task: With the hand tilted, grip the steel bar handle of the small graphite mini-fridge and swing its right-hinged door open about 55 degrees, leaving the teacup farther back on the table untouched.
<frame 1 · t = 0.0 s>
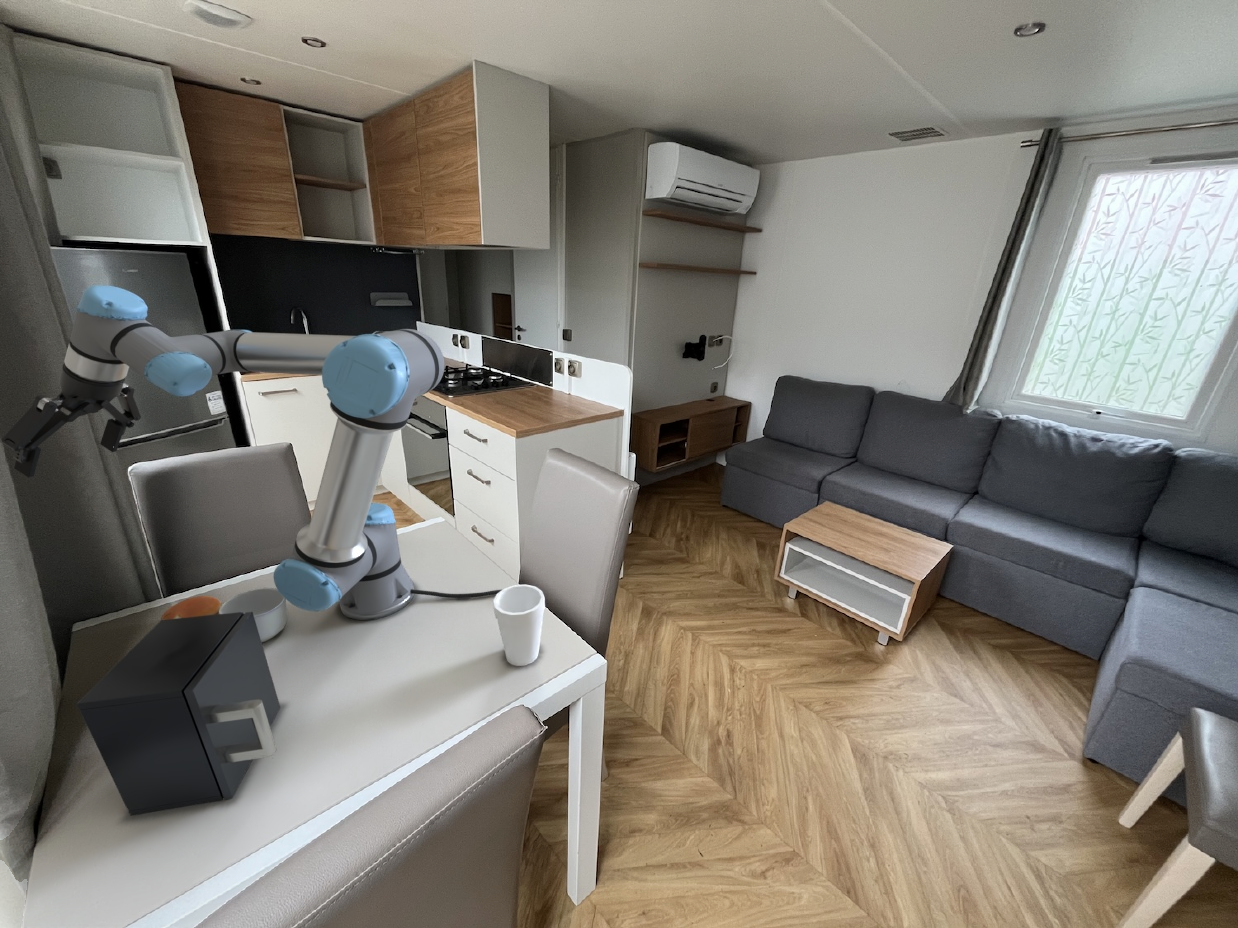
hand: (69, 459, 92), 36 cm above the table, tool tilted 35°, fingers open, 13 cm apart
fridge: (209, 756, 75), on the table
fridge door: (261, 697, 73), point 10 cm above the table, hinge at 0.0°
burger: (196, 624, 103), on the table
foam cup: (522, 654, 97), on the table
teacup: (257, 640, 99), on the table
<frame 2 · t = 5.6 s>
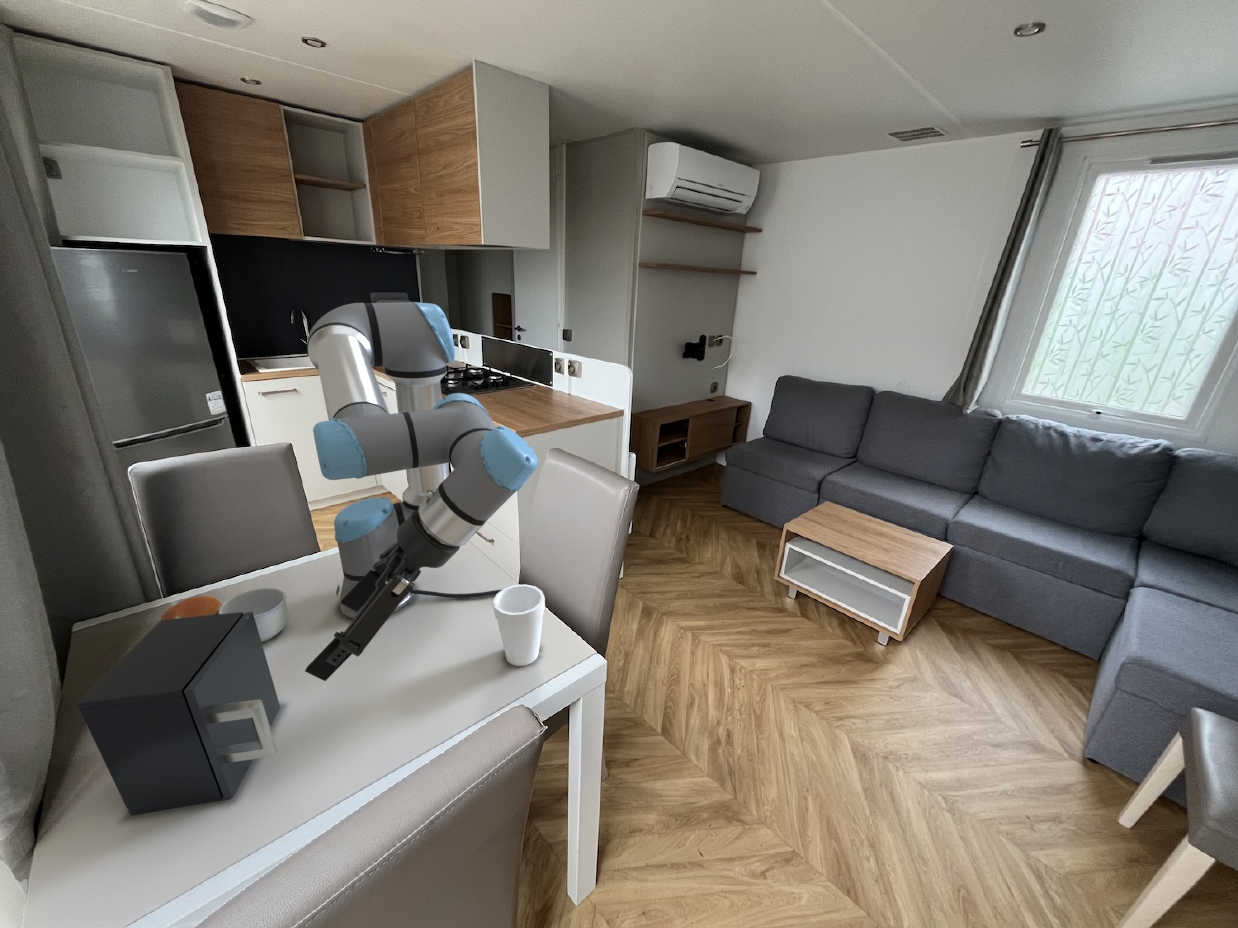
hand: (334, 637, 66), 24 cm above the table, tool tilted 45°, fingers open, 13 cm apart
nothing on the table moved.
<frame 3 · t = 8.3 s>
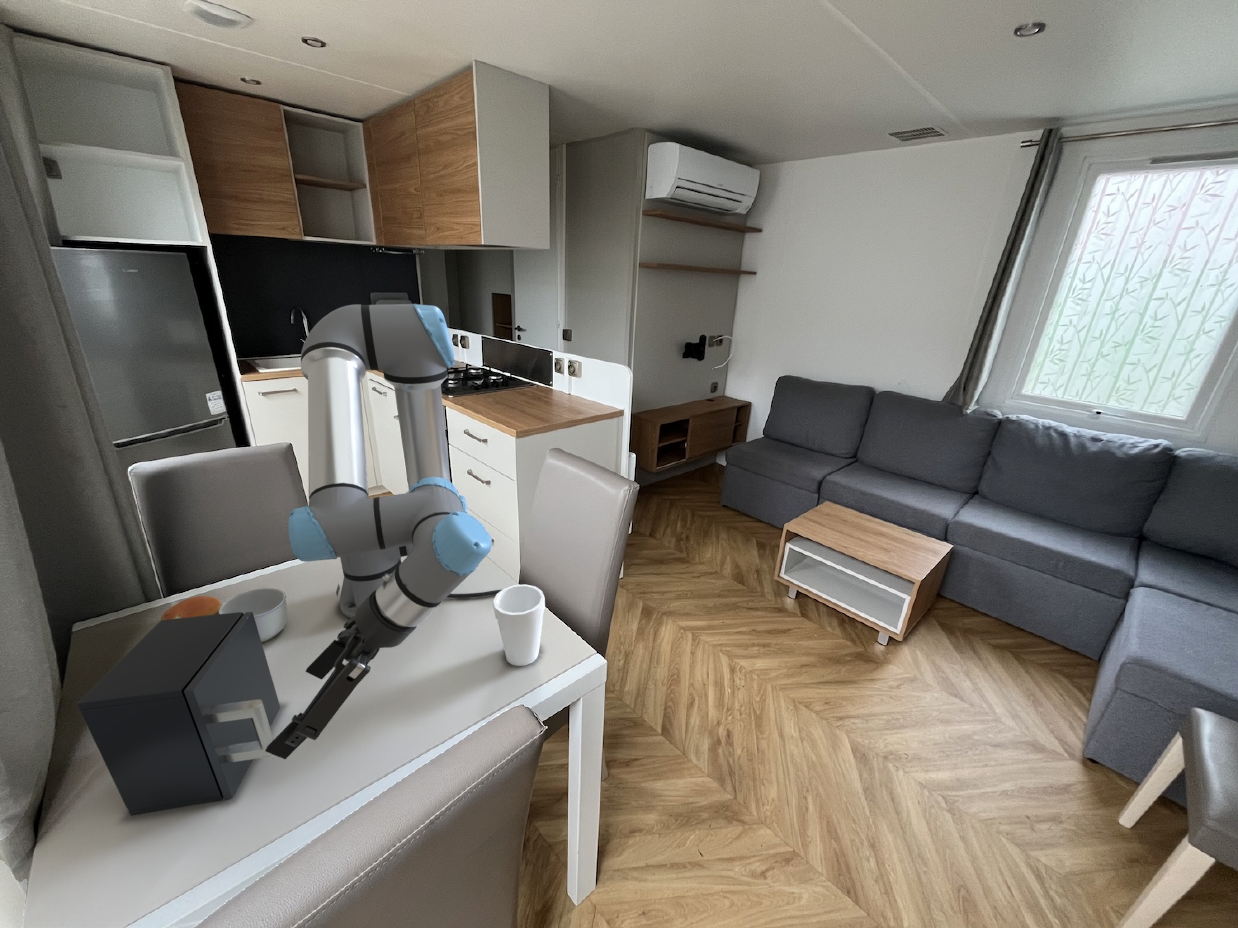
hand: (296, 709, 69), 13 cm above the table, tool tilted 45°, fingers open, 13 cm apart
nothing on the table moved.
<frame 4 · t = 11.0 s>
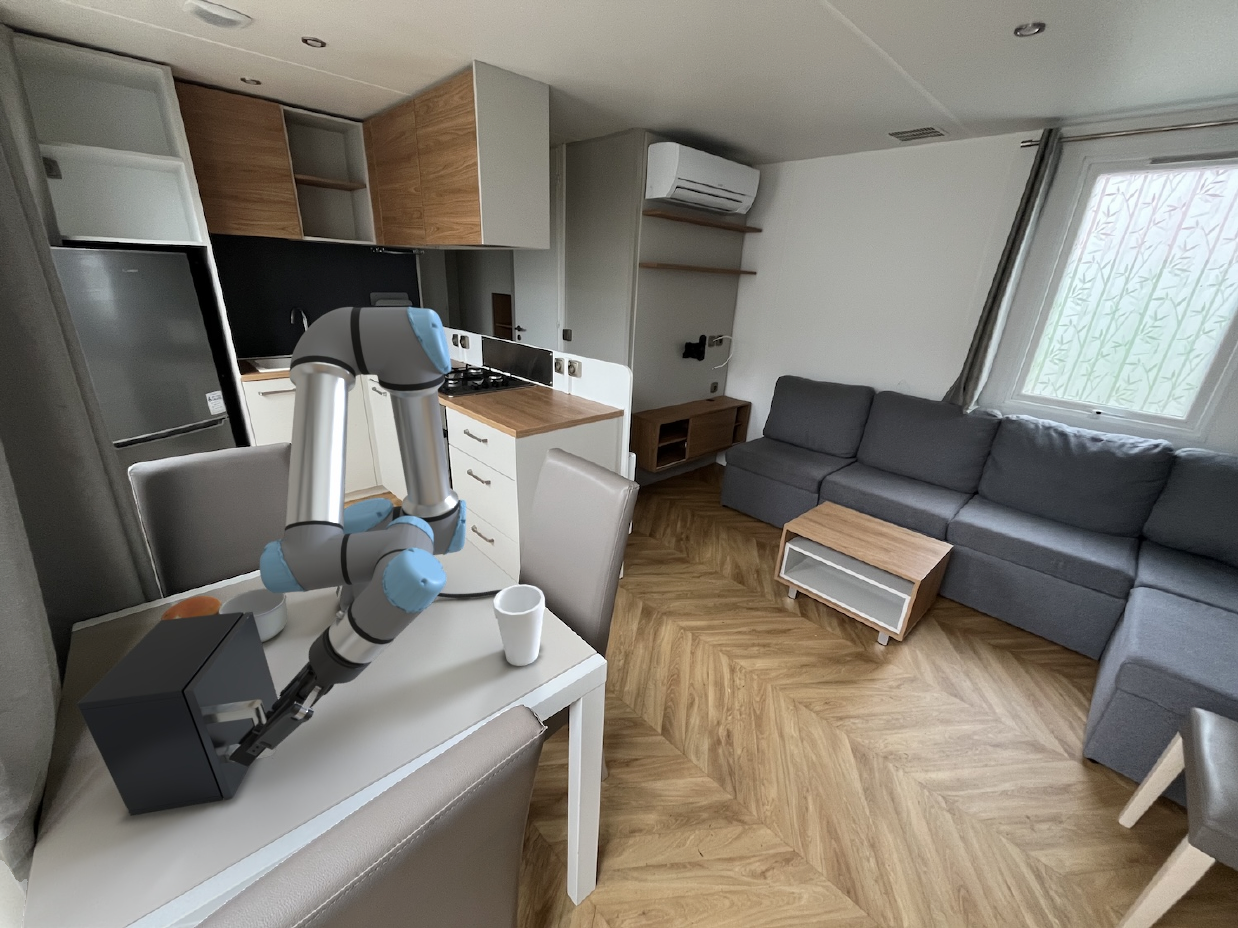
hand: (244, 752, 69), 6 cm above the table, tool tilted 45°, fingers closed on fridge door, 2 cm apart
fridge door: (261, 697, 73), point 10 cm above the table, hinge at 0.0°, touching gripper
everything else where it was.
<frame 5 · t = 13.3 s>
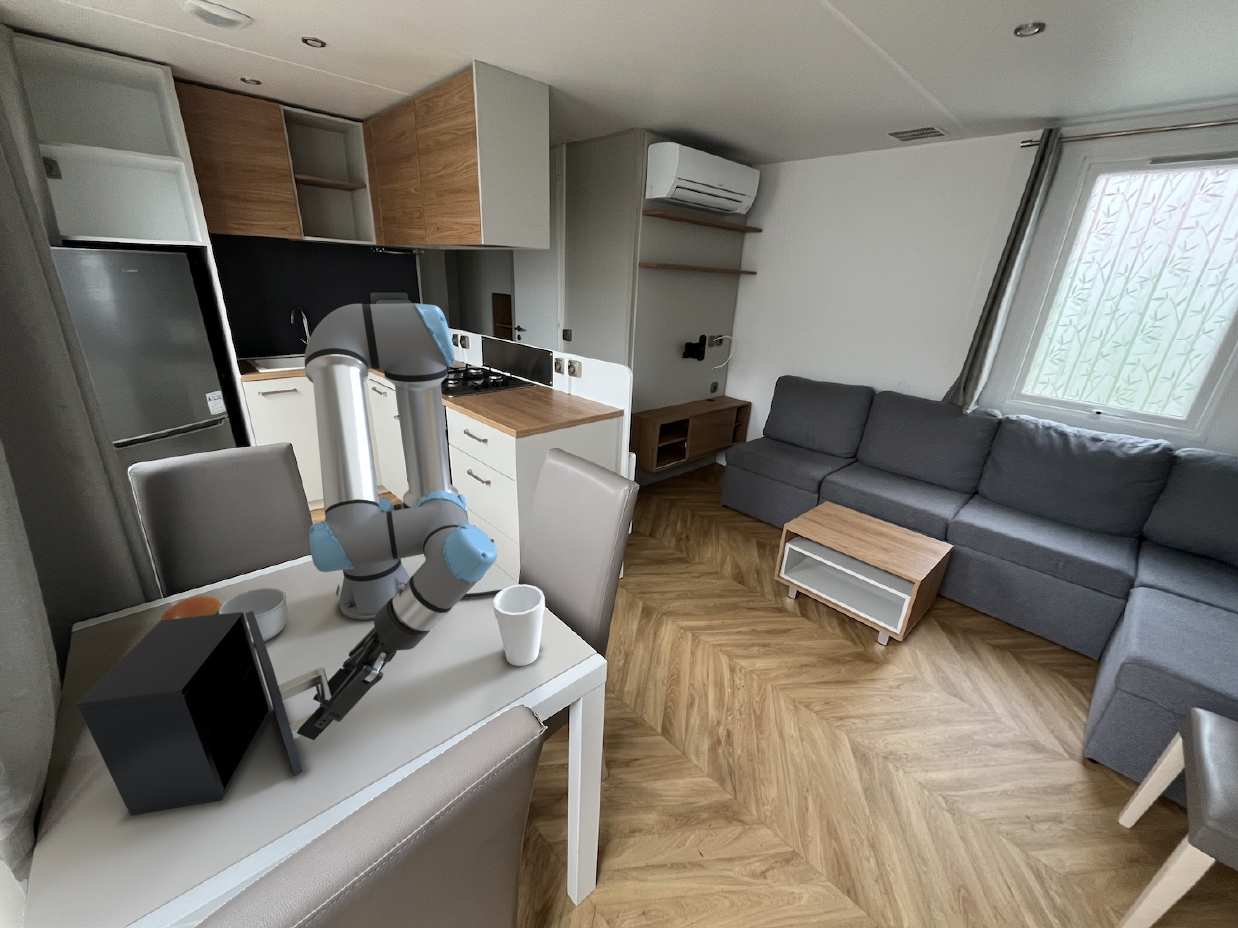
hand: (314, 716, 75), 6 cm above the table, tool tilted 45°, fingers open, 6 cm apart
fridge door: (295, 680, 77), point 10 cm above the table, hinge at 30.7°, touching gripper
everything else where it was.
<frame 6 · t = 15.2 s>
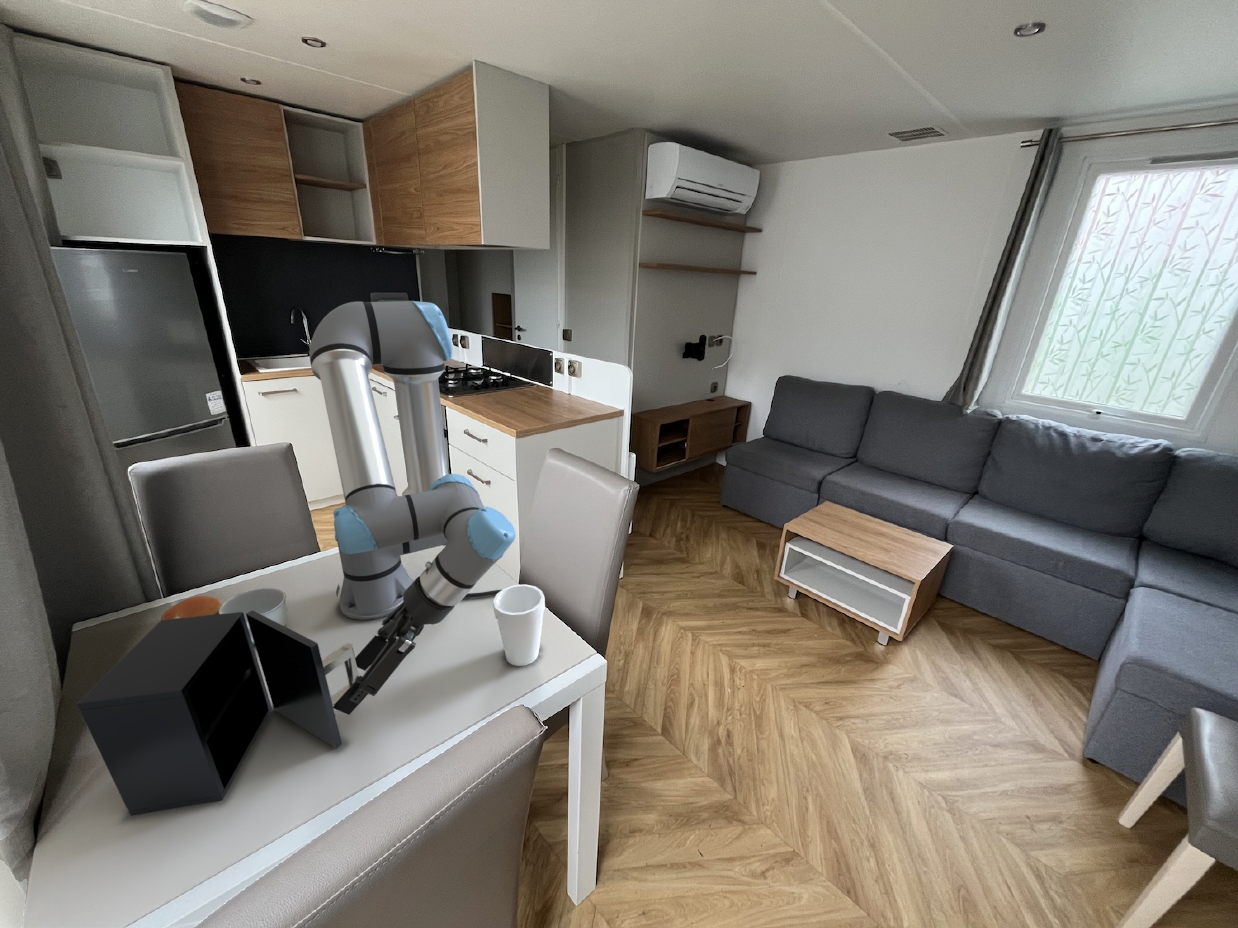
hand: (350, 686, 81), 6 cm above the table, tool tilted 45°, fingers open, 9 cm apart
fridge door: (312, 667, 79), point 10 cm above the table, hinge at 51.5°, touching gripper
everything else where it was.
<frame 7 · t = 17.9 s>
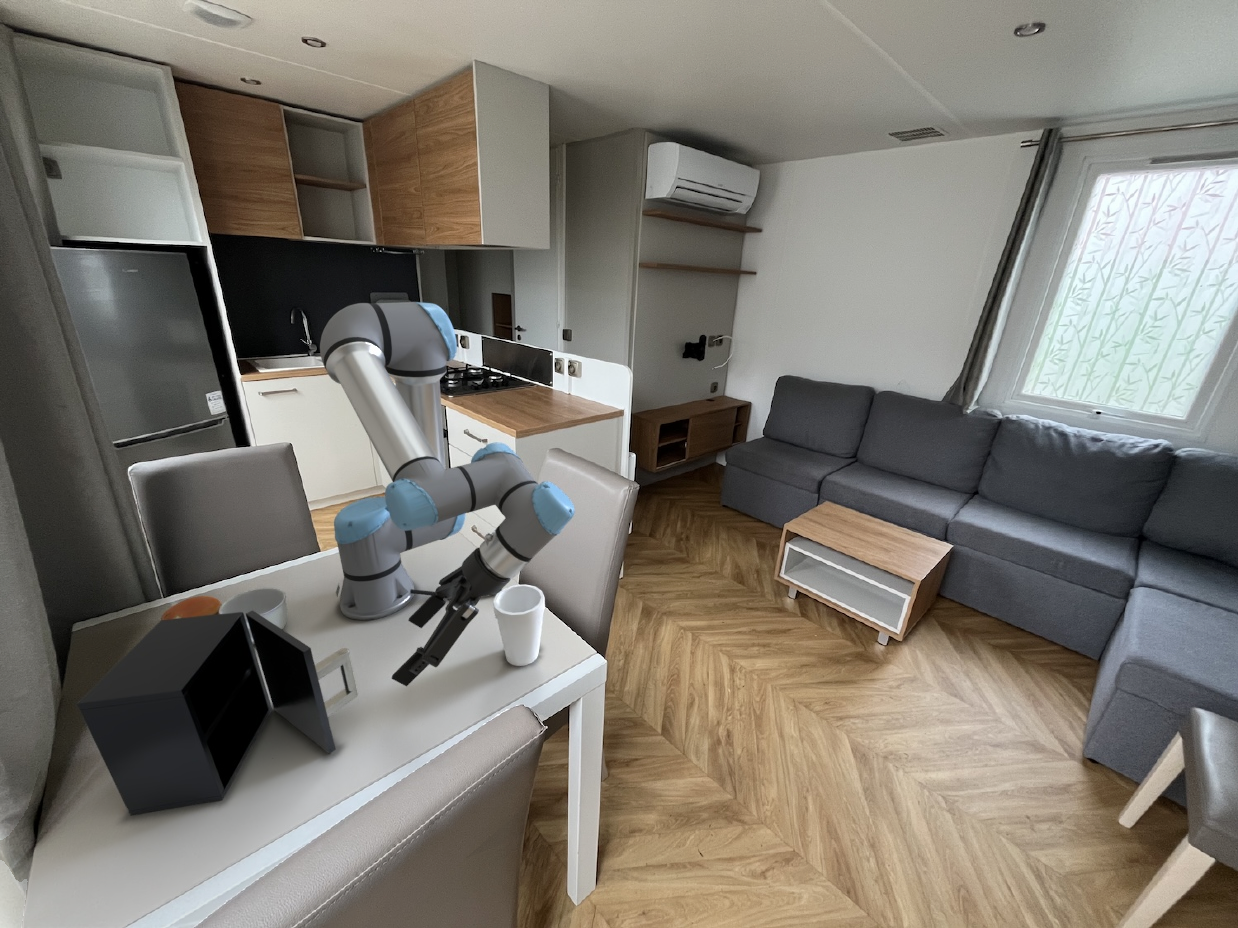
hand: (407, 649, 81), 12 cm above the table, tool tilted 45°, fingers open, 13 cm apart
fridge door: (309, 669, 79), point 10 cm above the table, hinge at 47.7°
everything else where it was.
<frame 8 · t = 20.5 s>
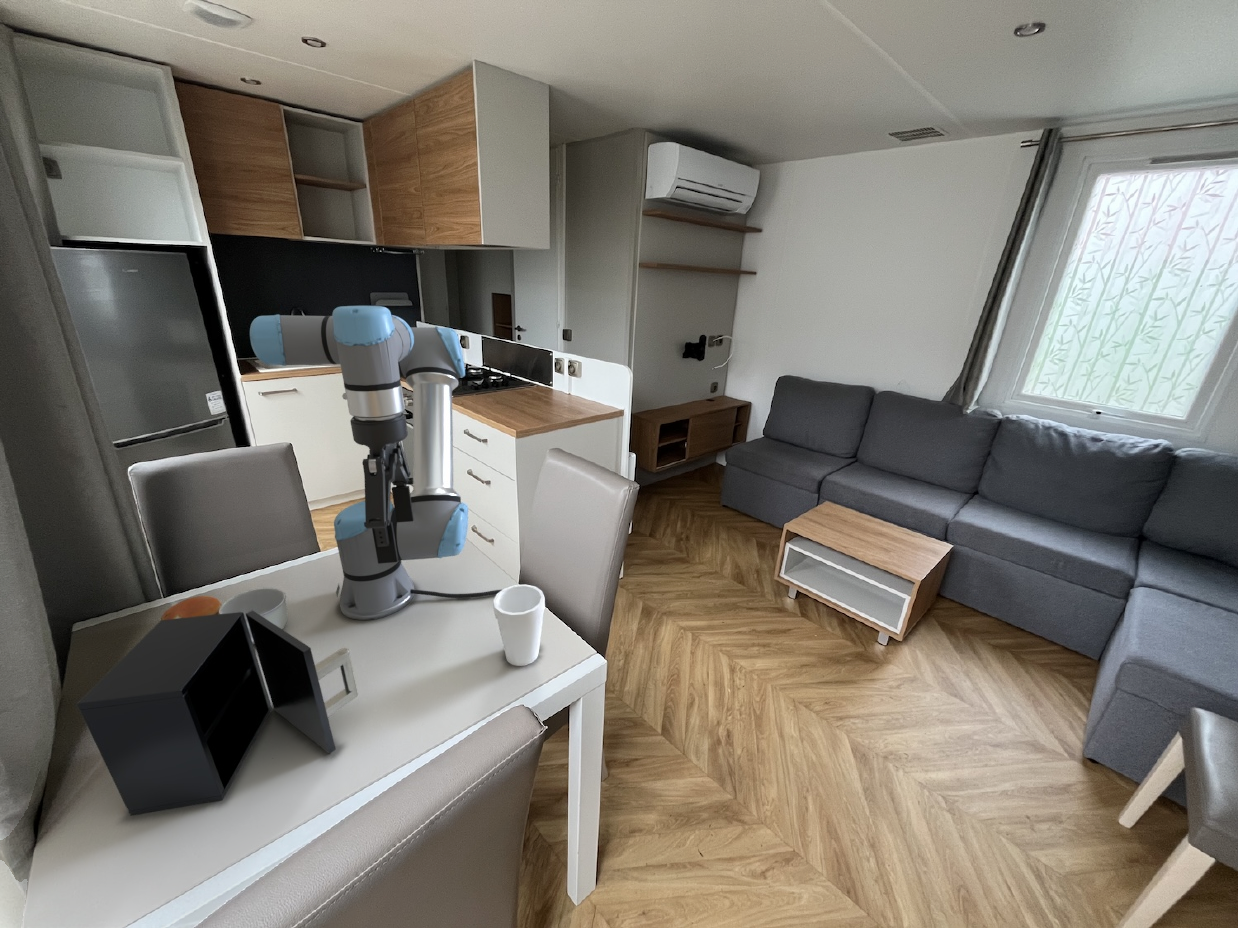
hand: (397, 539, 81), 29 cm above the table, tool pointing down, fingers open, 13 cm apart
nothing on the table moved.
at the end: fridge door at +48° (first picture: +0°); teacup moved 0.2 cm from its start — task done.
